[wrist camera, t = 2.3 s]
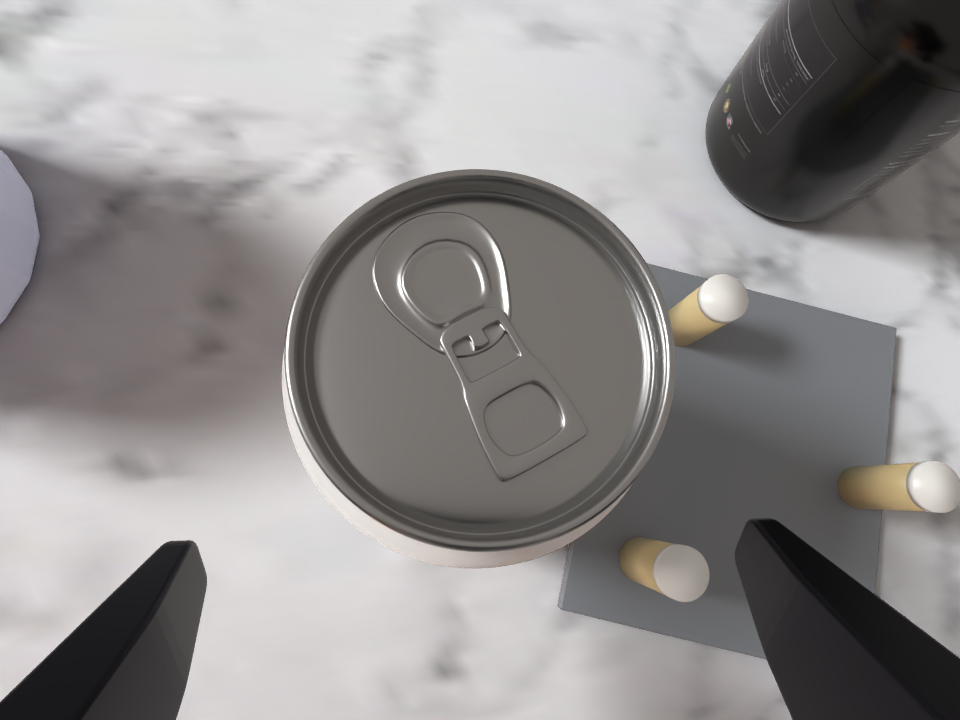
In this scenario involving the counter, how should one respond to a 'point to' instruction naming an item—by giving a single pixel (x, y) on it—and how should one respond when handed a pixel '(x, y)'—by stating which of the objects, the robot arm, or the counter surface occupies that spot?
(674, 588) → the peg board
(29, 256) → the soap bottle
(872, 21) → the supplement bottle
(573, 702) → the counter surface
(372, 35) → the counter surface
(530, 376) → the can
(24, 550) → the counter surface
